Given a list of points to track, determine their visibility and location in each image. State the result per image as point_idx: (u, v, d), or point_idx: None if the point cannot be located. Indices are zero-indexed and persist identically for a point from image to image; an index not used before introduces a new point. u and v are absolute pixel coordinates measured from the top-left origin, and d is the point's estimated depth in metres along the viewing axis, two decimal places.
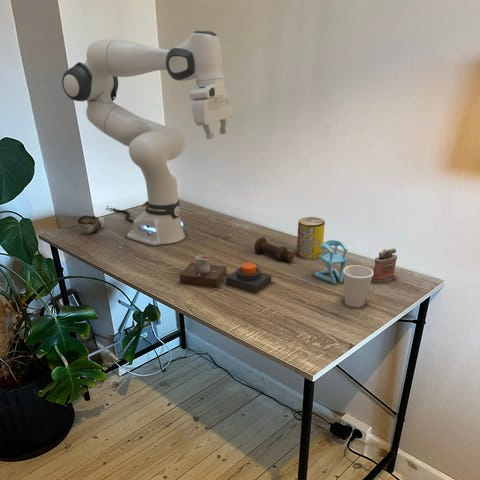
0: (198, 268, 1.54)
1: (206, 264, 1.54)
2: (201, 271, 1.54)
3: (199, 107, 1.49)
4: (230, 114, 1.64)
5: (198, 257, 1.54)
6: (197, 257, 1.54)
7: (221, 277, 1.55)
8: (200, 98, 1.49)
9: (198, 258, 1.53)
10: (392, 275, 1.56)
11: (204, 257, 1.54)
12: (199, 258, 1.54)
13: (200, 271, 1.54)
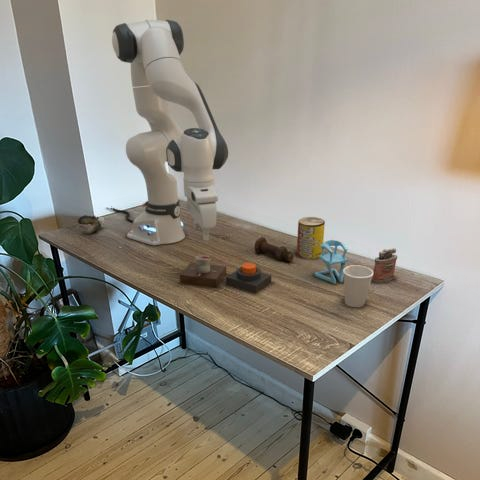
0: (198, 268, 1.54)
1: (206, 264, 1.54)
2: (201, 271, 1.54)
3: (210, 212, 1.38)
4: None
5: (198, 257, 1.54)
6: (197, 257, 1.54)
7: (221, 277, 1.55)
8: (209, 202, 1.38)
9: (198, 258, 1.53)
10: (392, 275, 1.56)
11: (204, 257, 1.54)
12: (199, 258, 1.54)
13: (200, 271, 1.54)
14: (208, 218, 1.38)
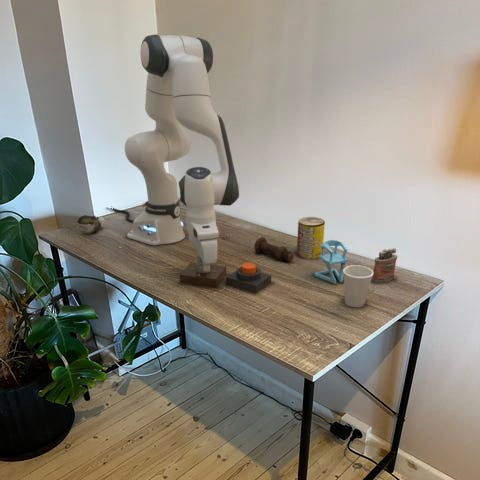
0: (198, 268, 1.54)
1: None
2: (201, 271, 1.54)
3: (211, 248, 1.43)
4: None
5: (198, 257, 1.54)
6: (197, 257, 1.54)
7: (221, 277, 1.55)
8: (210, 238, 1.43)
9: (198, 258, 1.53)
10: (392, 275, 1.56)
11: None
12: (199, 258, 1.54)
13: (200, 271, 1.54)
14: (209, 254, 1.44)
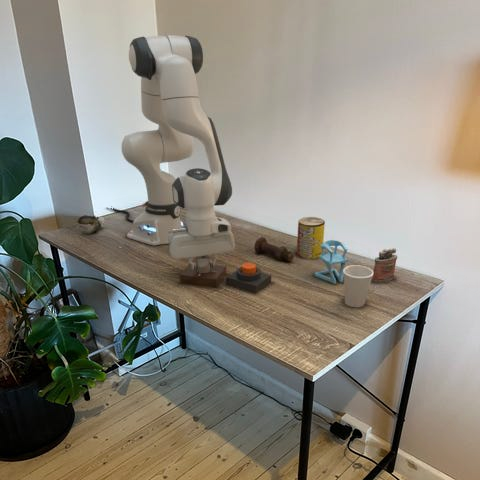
0: (208, 267, 1.55)
1: None
2: (209, 269, 1.56)
3: None
4: None
5: (202, 258, 1.53)
6: (202, 259, 1.53)
7: (221, 277, 1.55)
8: None
9: (206, 259, 1.53)
10: (392, 275, 1.56)
11: (204, 256, 1.55)
12: (205, 258, 1.53)
13: (209, 269, 1.56)
14: None
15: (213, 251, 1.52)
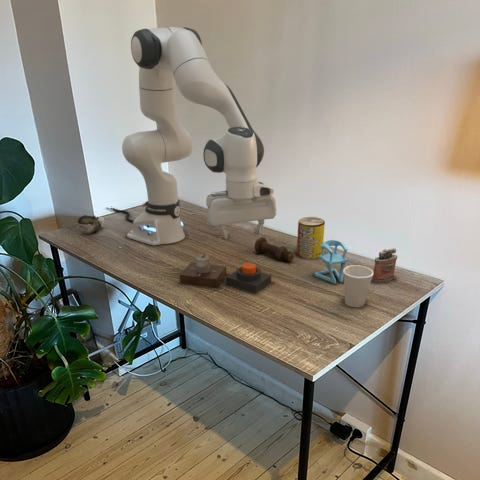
0: (208, 267, 1.55)
1: None
2: (209, 269, 1.56)
3: None
4: None
5: (202, 258, 1.53)
6: (202, 259, 1.53)
7: (221, 277, 1.55)
8: None
9: (206, 259, 1.53)
10: (392, 275, 1.56)
11: (204, 256, 1.55)
12: (205, 258, 1.53)
13: (209, 269, 1.56)
14: None
15: (253, 217, 1.43)
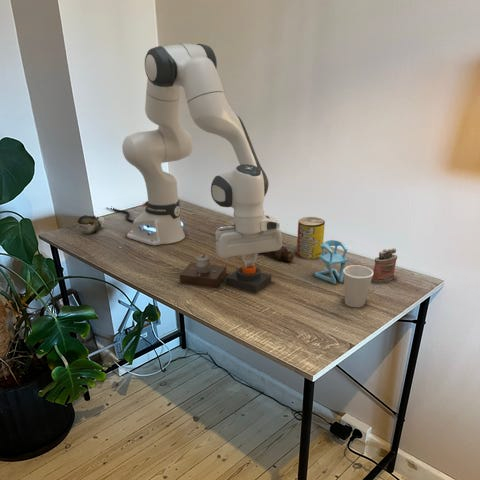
0: (208, 267, 1.55)
1: None
2: (209, 269, 1.56)
3: None
4: None
5: (202, 258, 1.53)
6: (202, 259, 1.53)
7: (221, 277, 1.55)
8: None
9: (206, 259, 1.53)
10: (392, 275, 1.56)
11: (204, 256, 1.55)
12: (205, 258, 1.53)
13: (209, 269, 1.56)
14: None
15: (260, 249, 1.48)
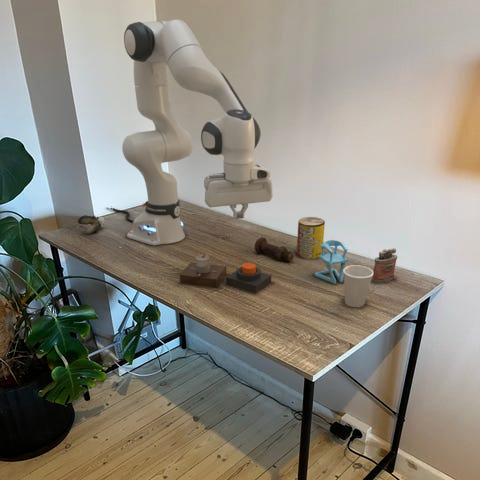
0: (208, 267, 1.55)
1: None
2: (209, 269, 1.56)
3: None
4: None
5: (202, 258, 1.53)
6: (202, 259, 1.53)
7: (221, 277, 1.55)
8: None
9: (206, 259, 1.53)
10: (392, 275, 1.56)
11: (204, 256, 1.55)
12: (205, 258, 1.53)
13: (209, 269, 1.56)
14: None
15: (250, 200, 1.46)
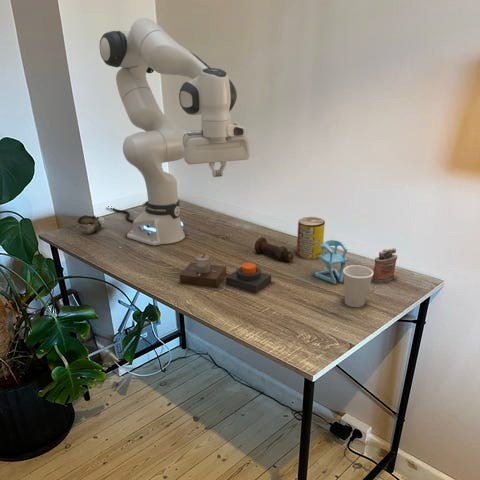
0: (208, 267, 1.55)
1: None
2: (209, 269, 1.56)
3: None
4: None
5: (202, 258, 1.53)
6: (202, 259, 1.53)
7: (221, 277, 1.55)
8: None
9: (206, 259, 1.53)
10: (392, 275, 1.56)
11: (204, 256, 1.55)
12: (205, 258, 1.53)
13: (209, 269, 1.56)
14: None
15: (228, 157, 1.51)
